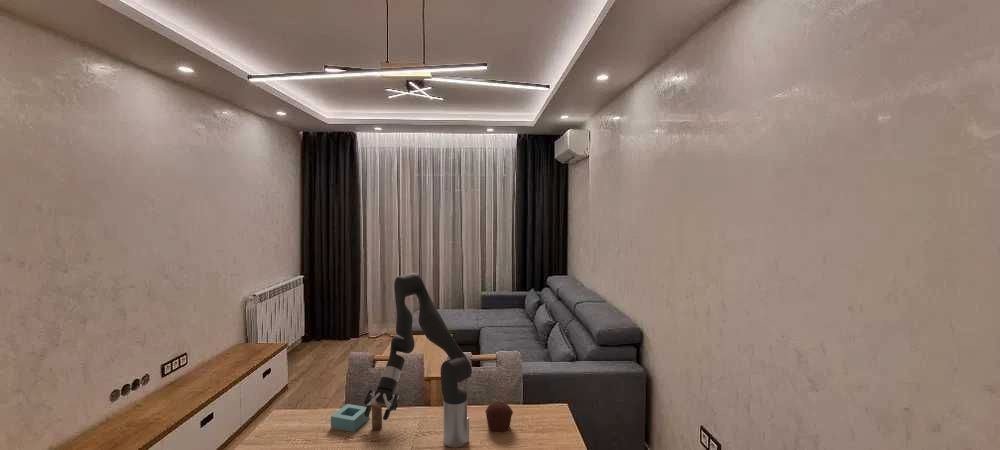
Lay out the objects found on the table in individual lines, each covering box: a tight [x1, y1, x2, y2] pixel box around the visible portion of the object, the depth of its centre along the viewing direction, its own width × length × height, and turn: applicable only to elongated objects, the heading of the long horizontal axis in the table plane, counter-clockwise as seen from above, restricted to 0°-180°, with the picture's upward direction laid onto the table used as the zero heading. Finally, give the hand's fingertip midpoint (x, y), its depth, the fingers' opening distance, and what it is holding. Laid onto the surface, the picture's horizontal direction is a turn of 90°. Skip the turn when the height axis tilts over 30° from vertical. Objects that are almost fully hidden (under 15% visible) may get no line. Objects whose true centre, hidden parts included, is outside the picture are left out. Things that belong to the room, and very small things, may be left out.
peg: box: [371, 403, 383, 432], centre depth 182 cm, size 4×4×10 cm
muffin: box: [484, 401, 514, 433], centre depth 183 cm, size 12×11×10 cm
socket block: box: [330, 403, 370, 433], centre depth 186 cm, size 11×11×5 cm
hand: (375, 418), depth 181 cm, fingers open, 8 cm apart
